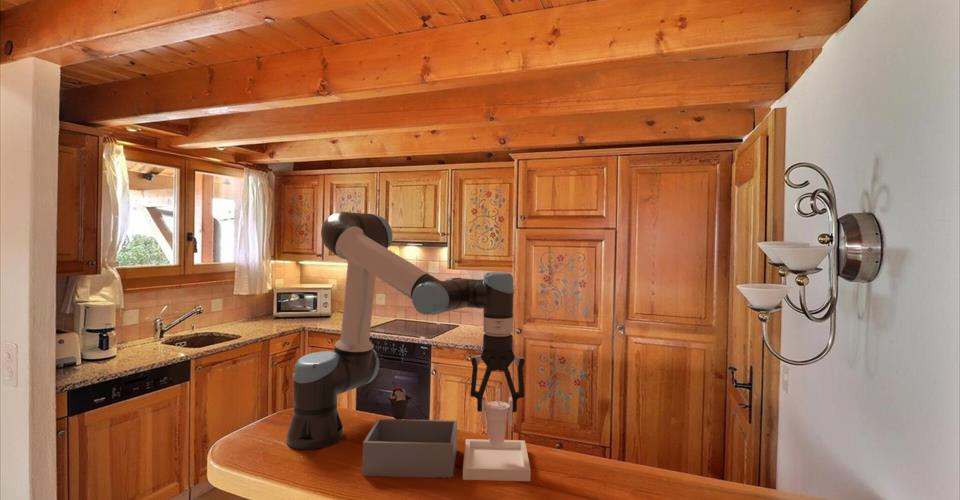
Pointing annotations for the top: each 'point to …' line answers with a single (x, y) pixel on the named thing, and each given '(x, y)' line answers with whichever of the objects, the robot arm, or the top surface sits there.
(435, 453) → the deep bin
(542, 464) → the top surface
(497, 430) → the smoothie
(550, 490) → the top surface
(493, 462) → the tray
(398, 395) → the sundae
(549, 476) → the top surface
